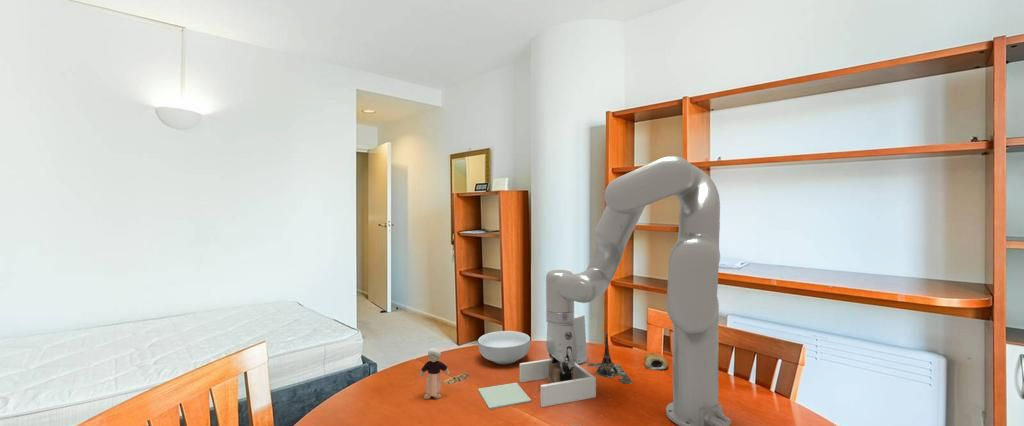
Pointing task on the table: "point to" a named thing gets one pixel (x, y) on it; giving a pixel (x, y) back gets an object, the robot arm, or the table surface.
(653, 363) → the pastry
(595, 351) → the table surface
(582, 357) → the skincare box
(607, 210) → the robot arm
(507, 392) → the sage mat
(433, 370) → the grandmother figurine
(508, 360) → the cereal bowl
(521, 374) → the open side box
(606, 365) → the eiffel tower figurine
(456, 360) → the table surface
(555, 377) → the walnut block
